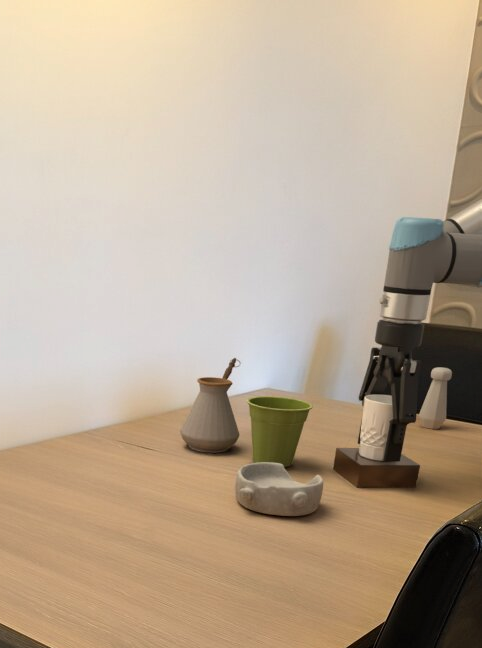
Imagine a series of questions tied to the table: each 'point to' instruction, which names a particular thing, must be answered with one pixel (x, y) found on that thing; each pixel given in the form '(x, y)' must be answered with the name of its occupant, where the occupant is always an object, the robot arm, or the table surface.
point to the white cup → (375, 426)
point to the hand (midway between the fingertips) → (377, 452)
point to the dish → (276, 490)
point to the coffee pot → (211, 416)
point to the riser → (375, 470)
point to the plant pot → (276, 427)
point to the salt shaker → (436, 399)
